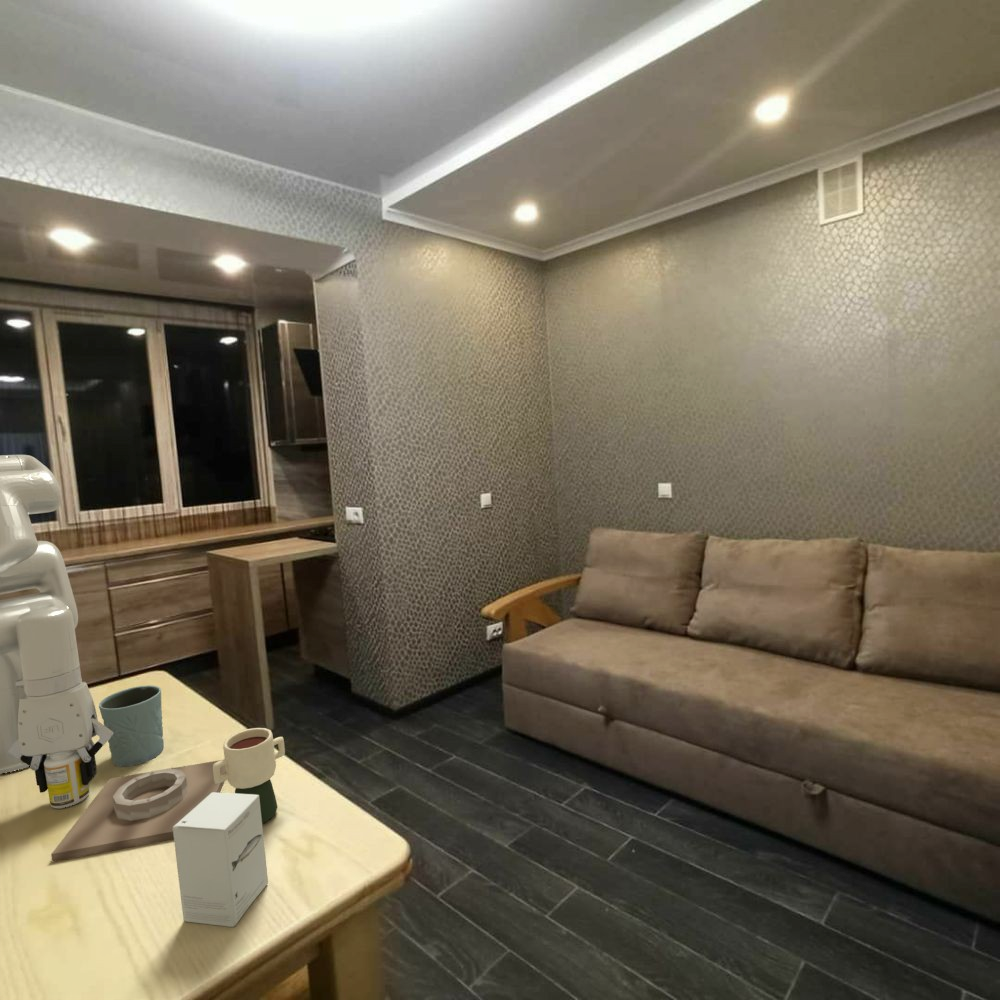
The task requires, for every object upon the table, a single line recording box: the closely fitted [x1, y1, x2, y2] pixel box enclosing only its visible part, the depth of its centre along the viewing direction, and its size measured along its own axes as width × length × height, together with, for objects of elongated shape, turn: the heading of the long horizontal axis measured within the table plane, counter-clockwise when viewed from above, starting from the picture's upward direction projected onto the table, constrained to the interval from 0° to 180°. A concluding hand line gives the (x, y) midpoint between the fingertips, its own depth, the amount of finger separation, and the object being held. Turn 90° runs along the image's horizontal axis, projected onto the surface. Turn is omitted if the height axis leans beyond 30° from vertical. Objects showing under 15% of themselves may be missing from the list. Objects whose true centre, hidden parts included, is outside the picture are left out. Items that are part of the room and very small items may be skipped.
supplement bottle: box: [44, 750, 91, 809], centre depth 99 cm, size 6×6×10 cm
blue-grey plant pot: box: [98, 684, 165, 768], centre depth 113 cm, size 10×10×12 cm
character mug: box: [213, 727, 286, 824], centre depth 91 cm, size 11×7×13 cm, turn 134°
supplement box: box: [173, 792, 269, 928], centre depth 74 cm, size 7×7×13 cm
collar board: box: [50, 759, 226, 862], centre depth 96 cm, size 20×20×4 cm
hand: (68, 783), depth 100 cm, fingers closed on supplement bottle, 5 cm apart
